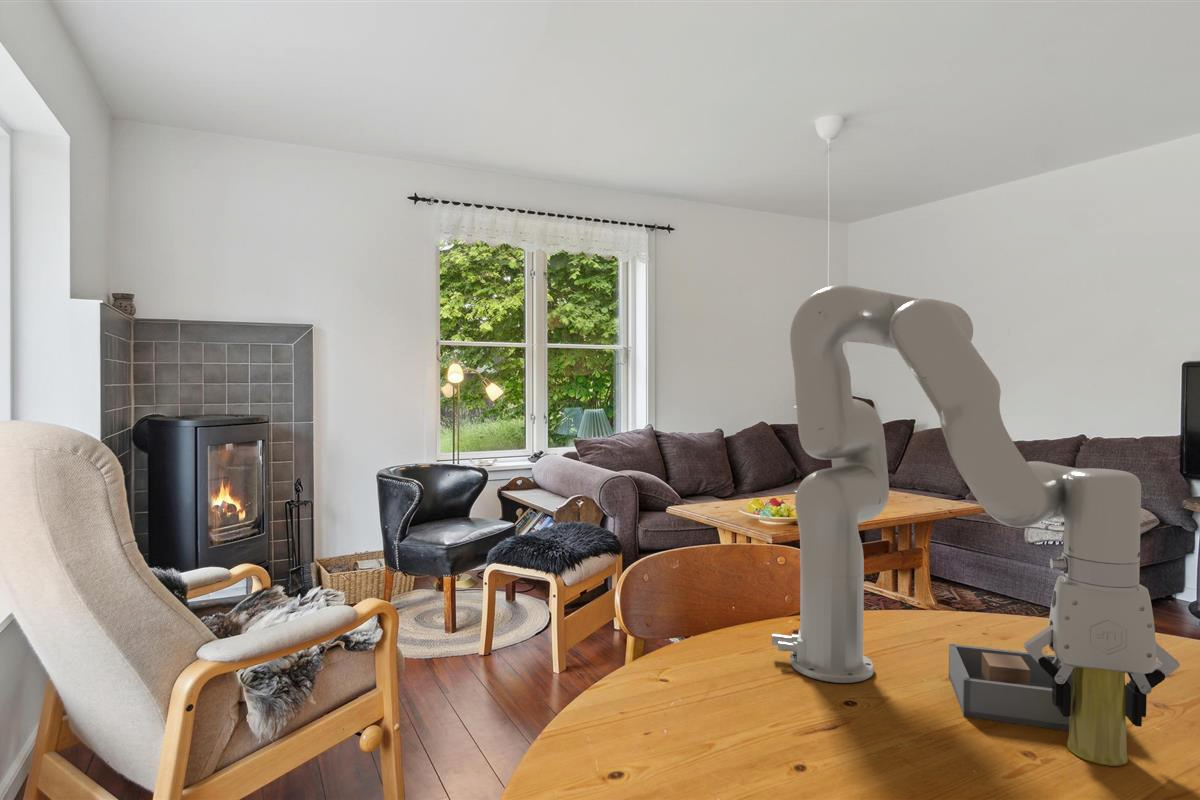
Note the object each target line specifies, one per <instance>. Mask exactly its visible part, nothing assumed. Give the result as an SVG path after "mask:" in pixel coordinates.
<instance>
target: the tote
mask: <svg viewBox="0 0 1200 800" xmlns="http://www.w3.org/2000/svg"><path fill="white" fill-rule="evenodd" d="M982 652H984V653H993V654H1003V655H1012V656H1021V658H1022V659H1023V660H1024V662H1025V663H1026V665H1027V666H1028V667H1029V669H1030V686H1028V685H1019V684H1011V683H1003V682H995V681H986V680H981V672H982ZM1043 654H1044V655H1045V656H1046V657H1047V658H1048V659H1049V660H1050V661H1051V662H1053V660H1054V659H1055V657H1056V655H1055V654H1048V653H1047V654H1045V653H1043ZM948 678H949V680H950V683H951V685H952V689H953V692H954V694H955V696H956V699H957V702H958V704H959V707H960V710H961V713H962V715H963V717H965V718H974V719H980V720H986V721H994V722H1002V723H1010V724H1016V725H1023V726H1030V727H1039V728H1045V729H1054V730H1059V731H1068V732H1069V717H1063V715H1062V714H1061V712H1060V711H1059V709H1058V708H1057V706H1054V704H1053V702H1052V677H1051V676H1050V675H1049V674H1048V673H1047V672H1046V671H1045V670H1044V669H1043V668H1042V667H1041V666H1040V665H1039V664H1038V663H1037V661H1036V660H1035V659H1034V658H1033V657H1032V656H1031V655H1030V654H1029V653H1028V652H1027V651H1021V650H1020V651H1018V650H1010V649H1009V650H1008V649H1000V648H991V647H981V646H973V645H972V646H971V645H963V644H955V643H949V644H948ZM1071 679H1072V672H1071V674H1070V675H1069V677H1068V679H1067V682H1068V683H1069V685H1070V686H1071Z"/></svg>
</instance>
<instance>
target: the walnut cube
mask: <svg viewBox="0 0 1200 800" xmlns="http://www.w3.org/2000/svg"><path fill="white" fill-rule="evenodd" d="M981 680H986V681H995V682H1003V683H1011V684H1019V685H1028V686H1030V669H1029V667H1028V666H1027V665H1026V663H1025V662H1024V660H1023V659H1022V658H1021V656H1012V655H1003V654H993V653H984V652H982V672H981Z"/></svg>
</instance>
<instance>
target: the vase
mask: <svg viewBox="0 0 1200 800" xmlns="http://www.w3.org/2000/svg"><path fill="white" fill-rule="evenodd" d="M1125 675H1126V673H1123V672H1114V671H1109V670H1098V669H1097V670H1096V669H1087V668H1079V667H1074V669H1073V670H1072V679H1071V715H1070V716H1069V731H1068V738H1067V741H1066V746H1067V749H1068V750H1069V751H1070V752H1071V753H1072V754H1073V755H1075V756H1076V757H1079V758H1080V759H1083V760H1085V761H1087V762H1091V763H1093V764H1098V765H1100V766H1107V767H1120V766H1125V765H1126V764H1127V763H1128V761H1129V758H1128V750H1127V749H1128V748H1127V747H1128V746H1127V745H1128V744H1127V743H1128V742H1127V741H1128V740H1127V720H1126V718H1127V717H1126V715H1125V698H1126V690H1125V685H1126V678H1125V677H1126V676H1125Z"/></svg>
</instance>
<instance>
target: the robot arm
mask: <svg viewBox="0 0 1200 800" xmlns="http://www.w3.org/2000/svg"><path fill="white" fill-rule="evenodd" d="M970 317H971V316H969V314H968V313H967V312H966V310H964V308H962V307H960V305H957V304H956V303H952V302H949V301H943V300H938V299H933V298H917V297H911V296H905V295H900V294H895V293H889V292H884V291H880V290H875V289H869V288H863V287H860V286H855V285H848V284H847V285H845V284H842V285H841V284H838V285H830V286H827V287H824V288H821V289H820V290H816V292H814V293H812V294H811V295H810V296H808V297H807V298H806V299H805V300H804V301H803V302H802V303H801V305H800V306H799V308H798V309H797V311H796V313H795V314H794V318H793V319H792V323H791V327H790V333H789V336H790V337H789V341H790V343H789V344H790V351H791V358H792V359H791V360H792V367H793V372H794V389H795V390H794V391H795V393H794V394H795V403H796V404H795V405H796V406H795V407H796V416H797V420H796V421H797V430H798V437H799V442H800V445H801V447H802V449H803V451H804V452H805V453H806V454H807V455H808V456H810V457H812V458H814V459H817V460H826V461H827V460H831V467H828V468H823V469H819V470H816V471H814V472H812V473H810V474H809V475H807V476H805V477H804V478H803V480H802V481H801V482H800V483H799V485H798V486H797V487H798V488H797V490H796V492H795V498H794V504H795V505H794V506H795V507H794V509H795V513H796V520H797V525H798V532H799V547H800V557H799V558H800V562H799V563H800V564H799V565H800V593H799V594H800V596H799V597H800V603H799V605H800V607H799V609H800V610H799V611H800V612H799V613H800V615H799V617H800V618H799V619H800V620H799V621H800V622H799V623H800V624H799V625H800V626H799V627H800V628H799V629H798V633H792V634H791V635H785V634H782V633H772V634H771V646H775V647H777V650H778V651H780V652H790V655H789V663H790V665H791V667H792V668H793V669H794V670H795V671H796V672H798V673H800V674H802V675H804V676H806V677H808V678H811V679H815V680H818V681H822V682H829V683H835V684H836V683H839V684H840V683H841V684H850V683H851V684H852V683H859V682H863V681H866V680H868V679H869V678H871V677H872V676H873V675H874V672H875V671H874V668H875V667H874V662H873V661H872V660H871V659H870V658H869V657H868V656H866V655H864V615H865V614H864V610H865V609H864V605H865V603H864V602H865V601H864V597H865V595H864V594H865V591H864V589H865V588H864V587H865V585H864V584H865V583H864V582H865V581H864V580H865V572H864V570H865V566H864V565H865V563H864V562H865V561H864V549H863V544H862V539H861V537H860V533H859V525H858V524H861V523H864V522H867V521H870V520H873V519H875V518H876V517H878V516H880V514H882V512H883V511H884V510H885V508H886V506H887V504H888V501H889V495H890V485H889V483H890V481H889V472H888V460H887V458H888V457H887V449H886V448H887V447H886V438H885V430H884V426H883V422H882V420H881V418H880V415H879V414H878V412H877V411H876V409H875V408H873V406H872V405H870V404H869V403H867V402H866V401H863V400H860V399H856V398H853V391H852V384H851V383H852V379H851V377H852V376H851V371H850V367H849V363H848V360H847V358H846V355H845V353H844V349H843V348H844V347H843V345H844V344H845V343H847V342H850V343H861V344H863V343H864V344H871V345H876V346H880V347H881V346H882V347H886V348H890V349H895V350H896V351H898V353H899V355H900V356H901V358H902V360H903V361H904V362H905V364H906V366H907V367H908V369H909V370H910V372H911V373H912V375H913V376H914V377H915V380H916V381H917V382H918V384H919V385H920V387H921V388H922V390H923V392H924V393H925V395H926V397H927V398H928V399H929V402H930V403H931V405H932V406H933V408H934V409H935V411H936V413H937V414H938V417H939V422H940V427H941V431H942V434H943V437H944V439H945V442H946V447H947V449H948V452H949V455H950V456H951V459H952V461H953V463H954V465H955V467H956V469H957V471H958V472H959V474H960V475H961V477H962V479H963V481H964V482H965V483H966V485H967V486H968V488H969V490H970V491H971V493H972V494H973V496H974V497H975V499H976V501H977V502H978V503H979V505H980V506H981V507H982V508H983V510H984V511H985V512H986V513H987V514H988V515H989V516H990V517H992V518H993V519H994V520H995V521H997V522H998V523H1001V524H1002V525H1005V526H1007V527H1012V528H1027V527H1031V526H1035V525H1037V524H1039V523H1042V522H1043V521H1047V520H1051V519H1052V520H1053V519H1063V521H1064V522H1063V551H1062V552H1061V555H1060V557H1057V558H1050V559H1049V566H1050V569H1051V570H1057V571H1058V572H1061V574H1063V575H1058V576H1057V579H1056V581H1055V584H1054V588H1053V593H1052V598H1051V604H1050V610H1049V611H1050V612H1049V618H1048V626H1047V627H1046V628H1044V629H1042V630H1041V631H1040V632H1038V633H1036V634H1035V635H1034V636H1033V637H1030V638H1029V639H1028V640H1026V641H1024V643H1023V647H1024V649H1025V650H1026V651H1025V652H1028V653H1029V654H1030V655H1031V656H1032V657H1033V658H1034V659H1035V660H1036V661H1037V663H1038V664H1039V665H1040V666H1041V667H1042V668H1043V669H1044V670H1045V671H1046V672H1047V673H1048V674H1049V675H1050V676H1051V677H1052V702H1053V704H1054V706H1057V708H1058V709H1059V711H1060V712H1061V714H1062V715H1063V717H1069V716H1070V715H1071V686H1070V685H1069V683H1068V682H1067V679H1068V677H1069V675H1070V674H1071V672H1072V670H1073V669H1074V667H1079V668H1087V669H1096V670H1097V669H1098V670H1109V671H1114V672H1123V673H1125V674H1126V675H1127V676H1128V678H1129V680H1128V681H1129V682H1126V684H1125V690H1126V698H1125V717H1126V718H1127V719H1128V720H1129V722H1131V723H1132V725H1134V726H1135V727H1140V728H1141V727H1142V725H1143V723H1142V722H1143V718H1146V716H1147V699H1148V697H1147V695H1149V694H1151V693H1152V690H1153V688H1155V687H1156V686H1157V685H1159V684H1161V683H1163V681H1165V679H1166V677H1168V676H1170V675H1171V674H1172V673H1174V672H1175V671H1176V670H1178V668H1180V666H1181V664H1180V662H1179V661H1178V660H1177V659H1176V658H1174V657H1173V656H1172V655H1171V654H1170V653H1169V652H1168V651H1166V649H1164V648H1163V647H1162V646H1161V645H1160V644H1159V643H1157V640H1156V630H1155V629H1156V628H1155V619H1154V614H1153V613H1154V612H1153V607H1152V601H1151V596H1150V592H1149V589H1148V587H1145V586H1143V585H1142V584H1140V570H1141V569H1140V565H1141V564H1140V562H1141V561H1140V560H1141V523H1142V522H1141V520H1142V519H1141V518H1142V517H1141V515H1142V484H1141V481H1140V479H1139V477H1138V476H1136V475H1135V474H1134V473H1131V472H1129V471H1124V470H1119V469H1113V468H1111V469H1110V468H1098V467H1097V468H1092V467H1090V468H1089V467H1087V468H1077V467H1072V466H1066V465H1062V464H1061V465H1060V464H1057V463H1050V462H1046V461H1037V460H1035V461H1034V460H1033V461H1032V460H1031V461H1026V459H1025V457H1023V455H1022V454H1021V452H1020V451H1019V449H1018V448H1017V445H1016V444H1015V443H1014V440H1013V439H1012V438H1011V435H1010V434H1009V433H1008V431H1007V429H1006V426H1005V424H1004V421H1003V418H1002V415H1001V410H1000V401H1001V394H1002V393H1001V385H1000V383H999V382H1000V381H999V380H998V378H997V376H995V374H994V372H993V371H992V369H990V367H989V365H988V364H987V363H986V362H985V360H984V359H983V358H982V356H981V354H980V353H979V351H978V350H977V348H976V347H975V346H974V345H973V343H972V339H973V336H974V326H973V321H972V319H971V318H970ZM1047 646H1048V647H1049V649H1050V650H1051V651H1053V652H1054V655H1056V657H1055V659H1054V660H1053V662H1051V661H1050V660H1049V659H1048V658H1047V657H1046V656H1045V655H1044V654H1045V653H1043V649H1044V648H1045V647H1047Z"/></svg>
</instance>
